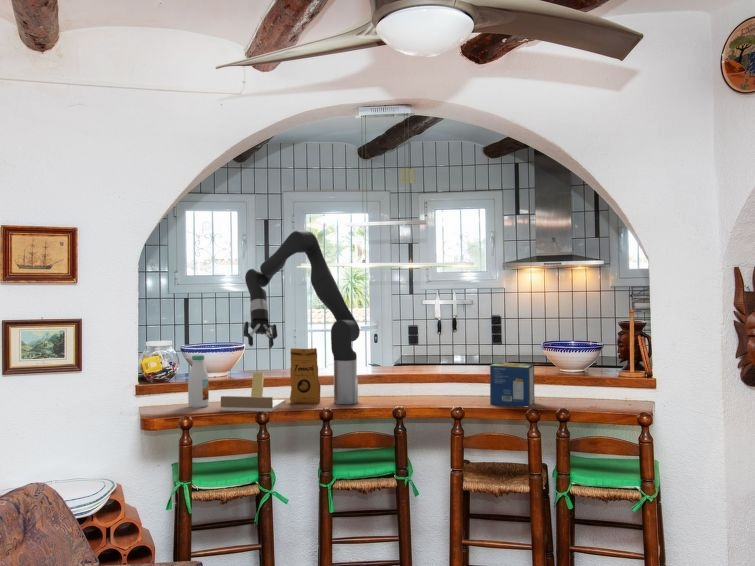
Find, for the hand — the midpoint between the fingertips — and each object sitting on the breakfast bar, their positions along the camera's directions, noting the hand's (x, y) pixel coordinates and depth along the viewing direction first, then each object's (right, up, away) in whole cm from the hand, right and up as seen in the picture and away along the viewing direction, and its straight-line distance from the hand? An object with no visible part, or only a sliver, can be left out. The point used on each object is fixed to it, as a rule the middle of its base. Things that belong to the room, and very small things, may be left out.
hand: (261, 346), depth 274 cm
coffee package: (+20, -22, -11) cm, 31 cm away
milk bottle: (-22, -22, -17) cm, 35 cm away
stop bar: (+1, -19, -16) cm, 25 cm away
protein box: (+102, -21, -17) cm, 105 cm away
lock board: (+1, -22, -19) cm, 29 cm away
